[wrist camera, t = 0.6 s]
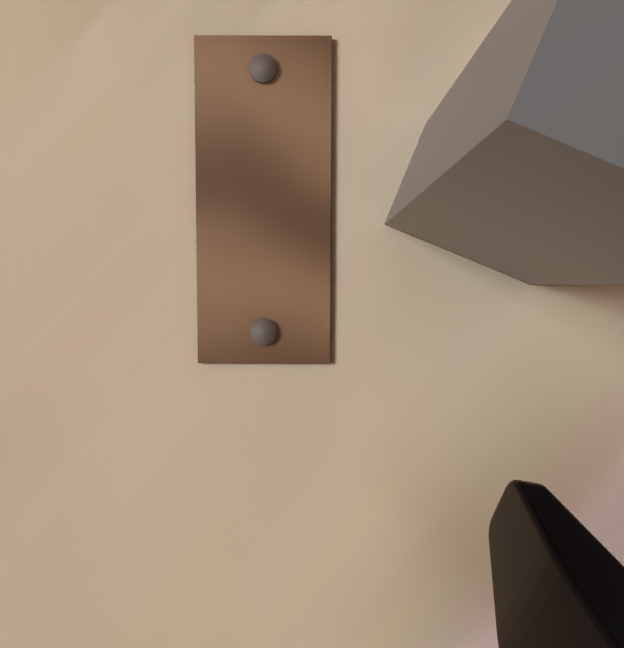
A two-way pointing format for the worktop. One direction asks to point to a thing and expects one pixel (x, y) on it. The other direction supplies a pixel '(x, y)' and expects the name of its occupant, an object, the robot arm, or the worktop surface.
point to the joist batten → (263, 198)
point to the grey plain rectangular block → (529, 149)
